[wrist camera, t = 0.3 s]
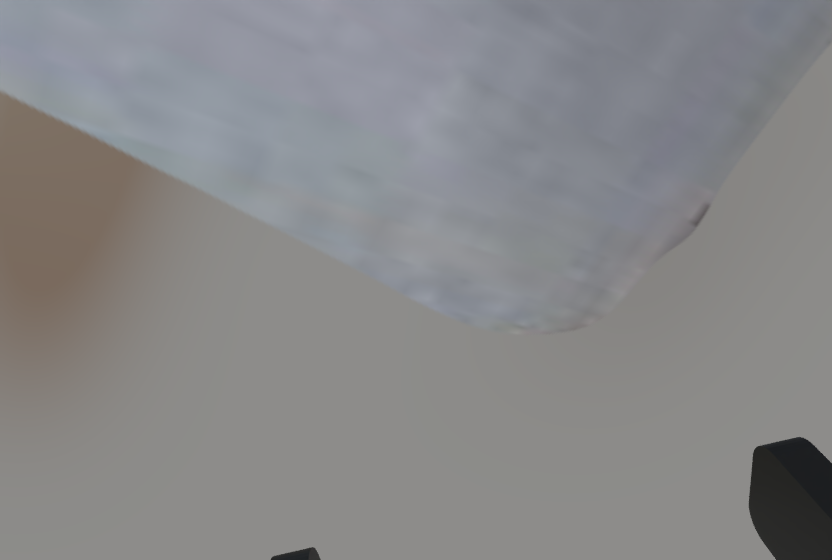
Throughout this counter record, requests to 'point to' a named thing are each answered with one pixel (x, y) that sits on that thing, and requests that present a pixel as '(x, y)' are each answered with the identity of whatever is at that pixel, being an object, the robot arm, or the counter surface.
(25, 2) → the counter surface
